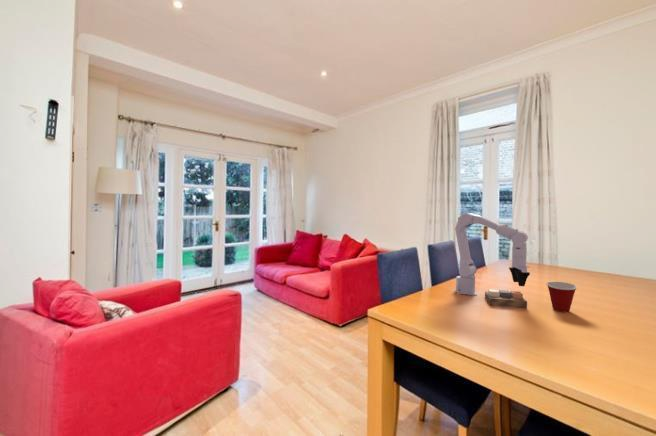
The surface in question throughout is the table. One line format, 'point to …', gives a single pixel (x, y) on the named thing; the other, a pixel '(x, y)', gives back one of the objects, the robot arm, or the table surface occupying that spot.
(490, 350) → the table surface
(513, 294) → the terracotta key
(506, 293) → the charcoal key
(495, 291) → the ivory key
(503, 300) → the key box
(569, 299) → the plastic cup
